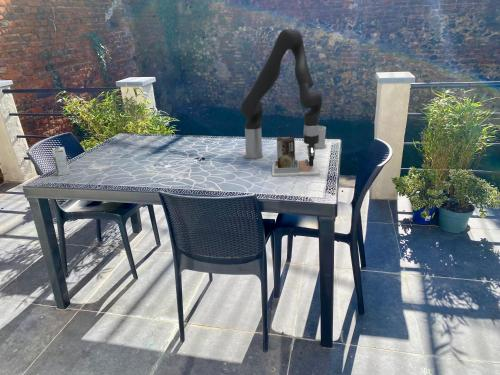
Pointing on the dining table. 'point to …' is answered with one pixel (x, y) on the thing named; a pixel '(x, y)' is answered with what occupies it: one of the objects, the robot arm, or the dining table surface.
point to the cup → (321, 138)
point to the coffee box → (286, 152)
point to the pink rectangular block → (304, 165)
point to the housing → (293, 170)
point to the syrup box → (60, 161)
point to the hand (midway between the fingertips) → (311, 166)
